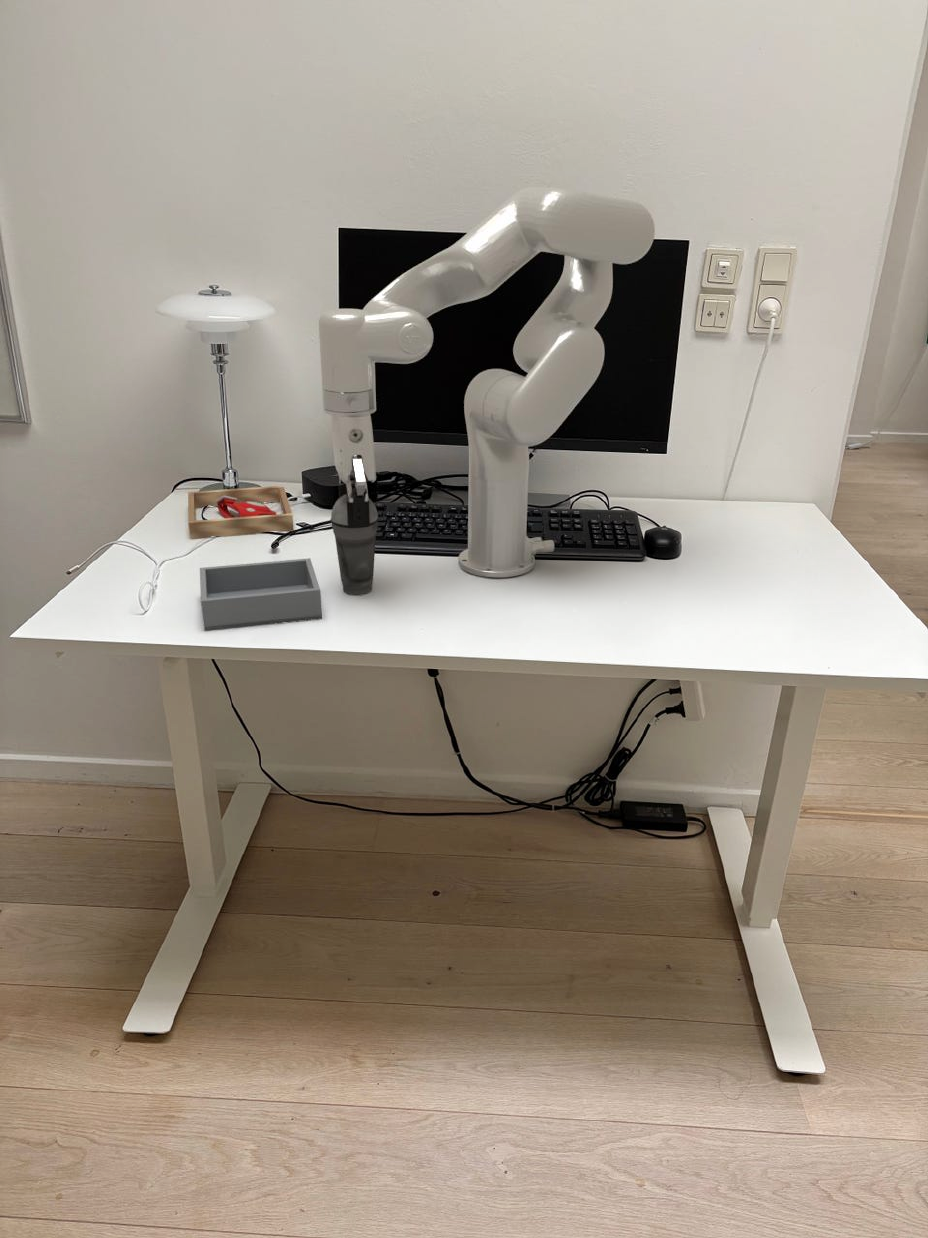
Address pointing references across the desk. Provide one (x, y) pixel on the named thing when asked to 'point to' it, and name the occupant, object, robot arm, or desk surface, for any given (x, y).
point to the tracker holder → (242, 508)
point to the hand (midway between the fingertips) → (354, 517)
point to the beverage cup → (354, 548)
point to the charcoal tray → (259, 594)
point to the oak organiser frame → (240, 523)
